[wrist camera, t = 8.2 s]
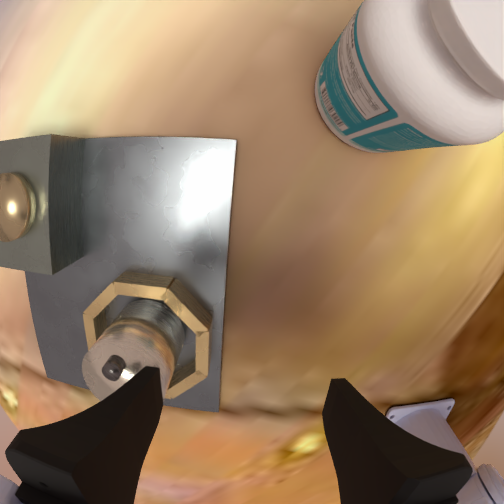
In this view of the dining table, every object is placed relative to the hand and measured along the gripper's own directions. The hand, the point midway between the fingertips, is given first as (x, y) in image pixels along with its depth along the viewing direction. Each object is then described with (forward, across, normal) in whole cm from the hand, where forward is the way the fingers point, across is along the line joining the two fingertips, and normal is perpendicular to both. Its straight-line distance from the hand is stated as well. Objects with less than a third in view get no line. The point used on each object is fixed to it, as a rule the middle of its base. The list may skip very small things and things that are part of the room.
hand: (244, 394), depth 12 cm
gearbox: (+9, +10, -1) cm, 13 cm away
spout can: (+8, +7, +2) cm, 11 cm away
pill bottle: (+10, -7, -14) cm, 19 cm away
